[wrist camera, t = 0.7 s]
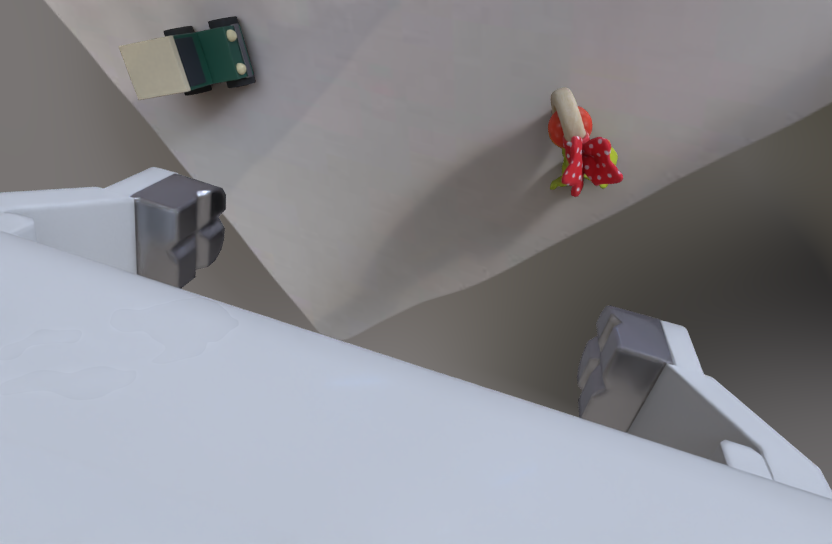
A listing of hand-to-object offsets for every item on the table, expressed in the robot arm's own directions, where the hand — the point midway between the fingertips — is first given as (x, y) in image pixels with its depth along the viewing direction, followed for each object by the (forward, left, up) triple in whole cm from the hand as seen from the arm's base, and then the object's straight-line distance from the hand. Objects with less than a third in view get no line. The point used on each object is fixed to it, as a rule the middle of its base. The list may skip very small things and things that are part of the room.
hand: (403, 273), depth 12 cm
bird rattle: (+6, +5, -42) cm, 43 cm away
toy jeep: (+3, -28, -42) cm, 51 cm away
